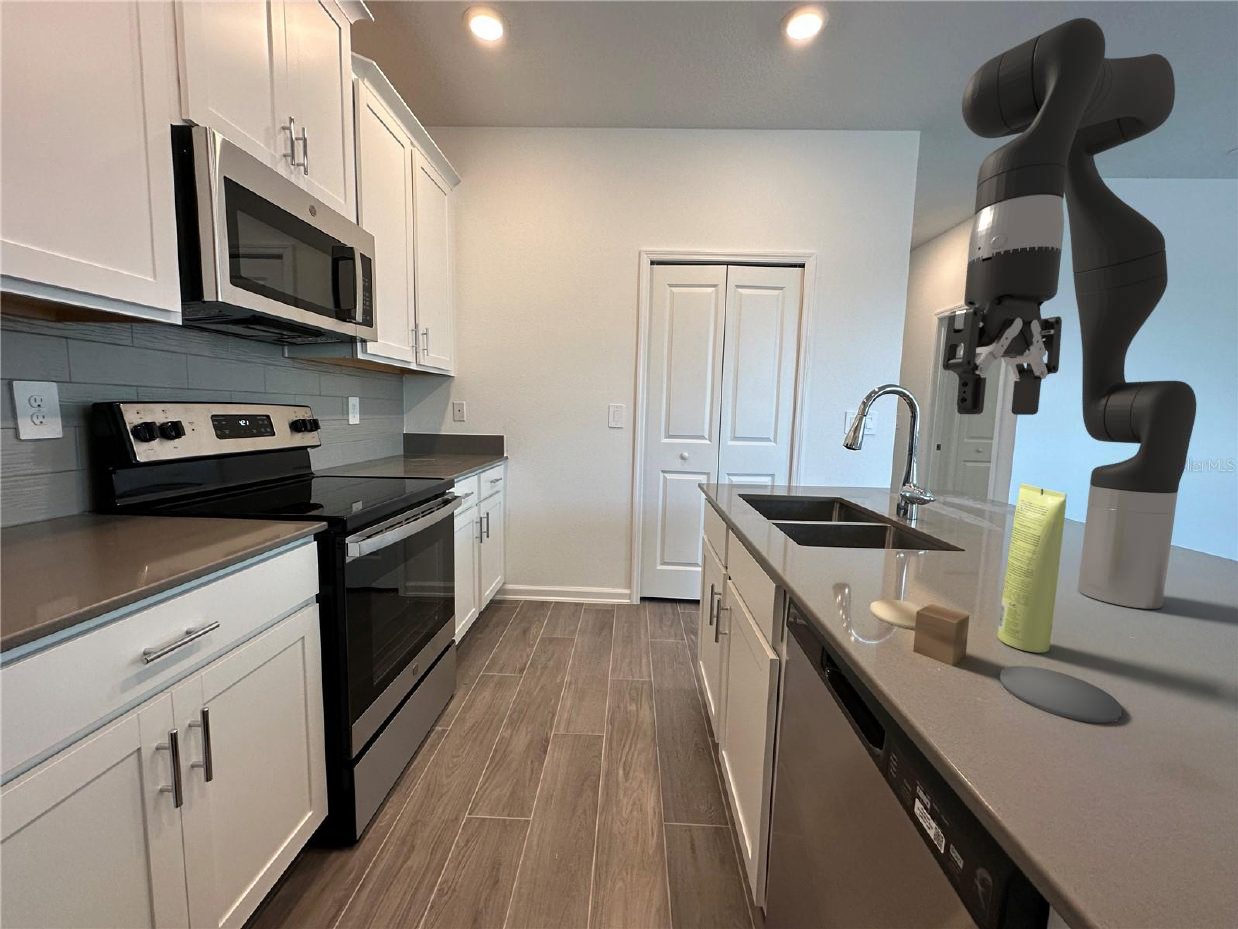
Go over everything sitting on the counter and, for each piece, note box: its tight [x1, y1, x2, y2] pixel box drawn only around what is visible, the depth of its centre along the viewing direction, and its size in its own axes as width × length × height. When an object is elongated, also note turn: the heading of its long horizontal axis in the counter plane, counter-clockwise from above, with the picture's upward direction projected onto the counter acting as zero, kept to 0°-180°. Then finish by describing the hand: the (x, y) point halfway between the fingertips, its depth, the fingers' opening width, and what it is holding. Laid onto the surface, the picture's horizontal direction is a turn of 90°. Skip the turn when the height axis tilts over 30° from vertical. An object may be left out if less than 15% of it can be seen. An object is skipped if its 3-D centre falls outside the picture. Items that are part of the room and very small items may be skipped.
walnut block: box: [912, 603, 970, 667], centre depth 57 cm, size 4×4×5 cm
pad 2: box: [999, 665, 1122, 724], centre depth 49 cm, size 9×9×1 cm
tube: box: [997, 482, 1068, 654], centre depth 58 cm, size 6×5×20 cm
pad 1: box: [869, 599, 927, 631], centre depth 68 cm, size 9×9×1 cm
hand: (997, 414), depth 52 cm, fingers open, 8 cm apart
